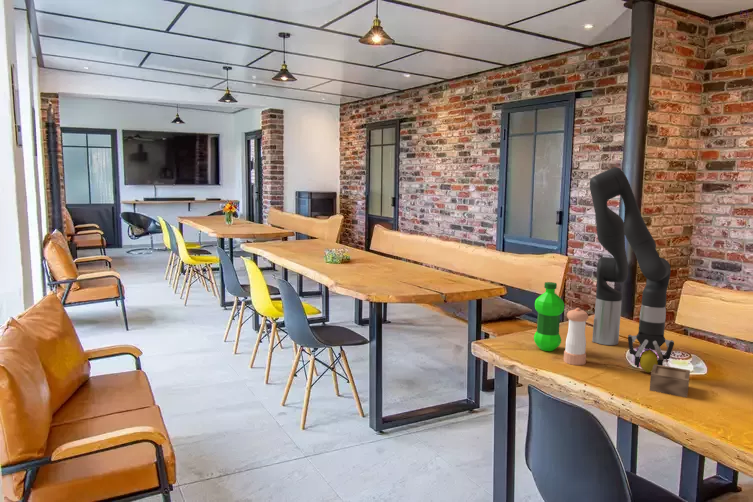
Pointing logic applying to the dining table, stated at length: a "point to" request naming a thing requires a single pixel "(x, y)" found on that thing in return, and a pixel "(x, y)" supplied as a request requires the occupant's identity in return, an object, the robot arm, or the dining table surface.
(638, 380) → the dining table surface
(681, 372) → the walnut box
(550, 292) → the plastic bottle
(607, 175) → the robot arm
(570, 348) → the salt shaker
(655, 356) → the lemon
